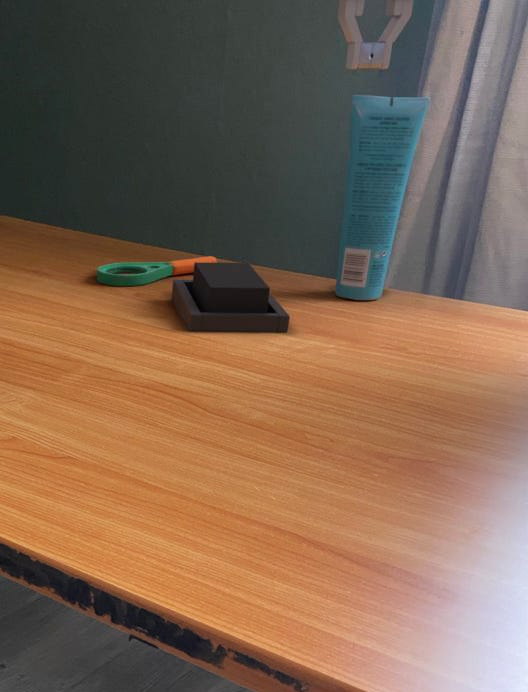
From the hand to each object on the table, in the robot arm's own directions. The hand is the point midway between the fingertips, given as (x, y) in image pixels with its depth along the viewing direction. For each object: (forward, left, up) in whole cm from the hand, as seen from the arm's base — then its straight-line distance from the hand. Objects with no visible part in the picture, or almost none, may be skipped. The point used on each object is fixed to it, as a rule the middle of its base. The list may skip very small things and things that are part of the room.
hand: (366, 69), depth 77 cm
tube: (-9, -22, -23) cm, 33 cm away
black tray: (+7, -12, -22) cm, 26 cm away
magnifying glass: (+12, -30, -23) cm, 40 cm away
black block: (+7, -12, -22) cm, 26 cm away
